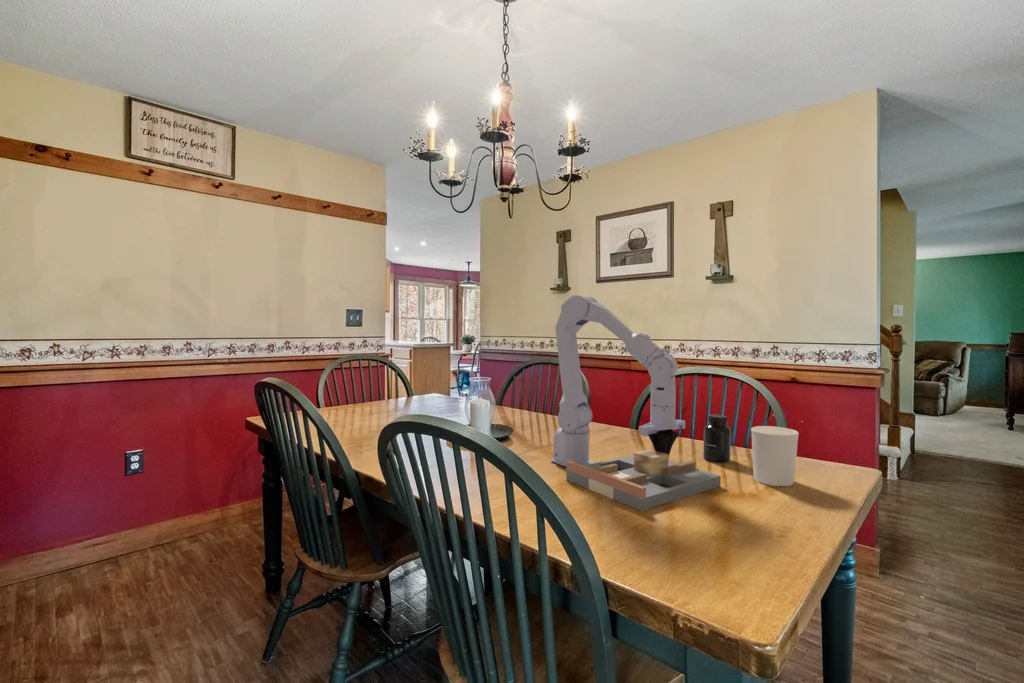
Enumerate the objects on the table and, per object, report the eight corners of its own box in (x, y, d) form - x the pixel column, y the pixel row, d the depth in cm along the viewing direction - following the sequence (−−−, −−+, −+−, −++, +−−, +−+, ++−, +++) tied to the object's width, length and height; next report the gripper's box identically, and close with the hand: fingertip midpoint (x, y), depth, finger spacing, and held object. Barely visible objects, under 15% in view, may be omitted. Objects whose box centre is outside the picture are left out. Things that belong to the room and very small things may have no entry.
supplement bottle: (704, 462, 129) (705, 417, 128) (702, 455, 135) (702, 412, 135) (732, 464, 127) (733, 418, 126) (728, 457, 133) (729, 414, 133)
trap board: (566, 479, 114) (566, 460, 114) (641, 462, 129) (641, 445, 128) (641, 511, 95) (641, 488, 95) (720, 486, 109) (720, 466, 109)
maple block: (633, 469, 114) (634, 452, 114) (649, 465, 117) (649, 449, 117) (652, 475, 109) (652, 458, 109) (668, 471, 112) (668, 454, 112)
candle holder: (806, 488, 108) (808, 435, 108) (762, 487, 108) (763, 435, 108) (783, 474, 118) (784, 425, 118) (742, 474, 118) (743, 425, 118)
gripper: (656, 410, 108) (655, 470, 108) (696, 404, 116) (695, 460, 116) (632, 406, 114) (631, 463, 114) (672, 400, 122) (671, 454, 122)
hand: (662, 461), depth 116 cm, fingers closed
